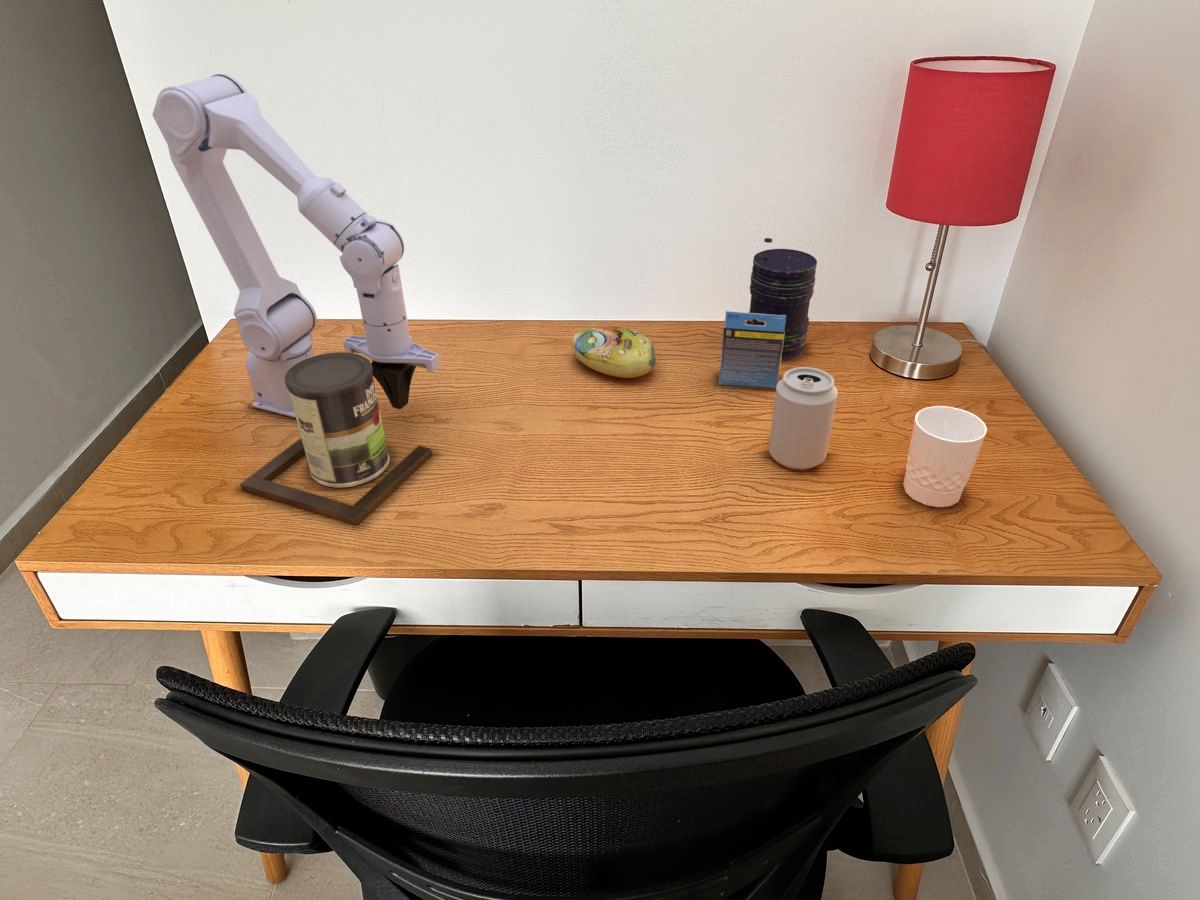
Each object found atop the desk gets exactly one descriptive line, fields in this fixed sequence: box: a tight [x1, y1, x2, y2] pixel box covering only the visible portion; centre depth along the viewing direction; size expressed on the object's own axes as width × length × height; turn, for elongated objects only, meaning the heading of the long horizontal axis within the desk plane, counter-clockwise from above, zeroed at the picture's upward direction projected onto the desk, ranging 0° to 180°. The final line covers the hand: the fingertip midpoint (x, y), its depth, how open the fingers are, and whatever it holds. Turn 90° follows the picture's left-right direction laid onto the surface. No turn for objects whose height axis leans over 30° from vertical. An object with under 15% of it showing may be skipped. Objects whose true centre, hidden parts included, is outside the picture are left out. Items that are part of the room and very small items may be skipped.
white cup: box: [902, 405, 988, 508], centre depth 96 cm, size 8×8×10 cm
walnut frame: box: [239, 438, 433, 526], centre depth 103 cm, size 18×16×1 cm
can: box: [768, 366, 839, 471], centre depth 101 cm, size 8×8×12 cm
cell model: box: [571, 325, 657, 379], centre depth 125 cm, size 11×8×15 cm
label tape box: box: [718, 310, 786, 390], centre depth 118 cm, size 9×4×12 cm, turn 80°
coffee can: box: [284, 351, 391, 489], centre depth 101 cm, size 10×10×14 cm
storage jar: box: [745, 237, 818, 362], centre depth 126 cm, size 10×10×18 cm
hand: (400, 405), depth 113 cm, fingers closed
